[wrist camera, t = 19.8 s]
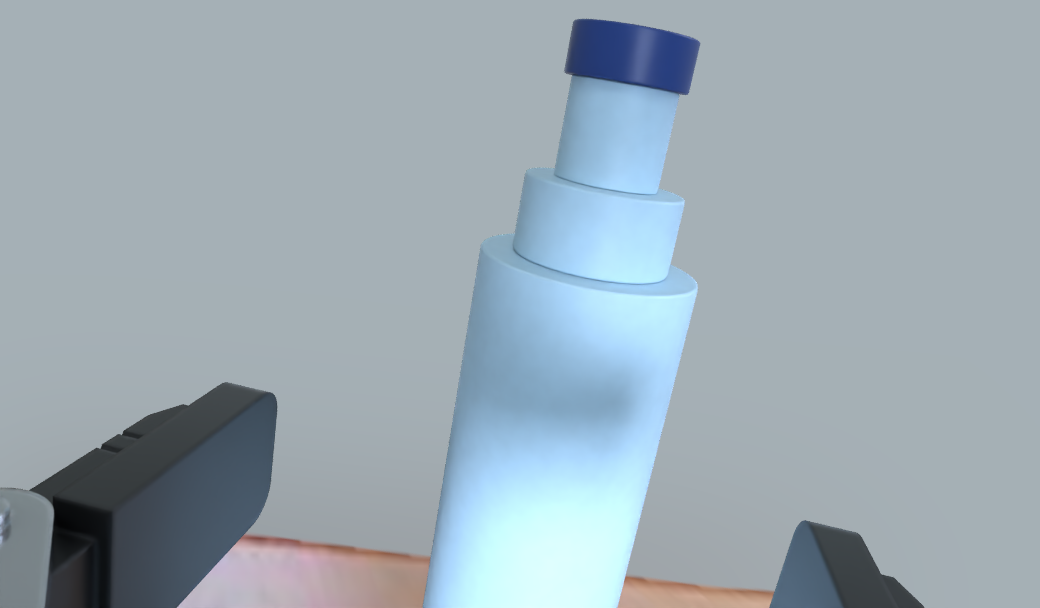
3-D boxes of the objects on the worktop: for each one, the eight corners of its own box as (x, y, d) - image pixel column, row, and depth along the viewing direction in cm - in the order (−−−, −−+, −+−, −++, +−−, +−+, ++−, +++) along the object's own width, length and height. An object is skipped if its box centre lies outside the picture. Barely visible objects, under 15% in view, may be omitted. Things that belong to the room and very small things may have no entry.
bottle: (593, 650, 25) (739, 58, 19) (582, 798, 20) (780, 42, 14) (436, 611, 26) (534, 23, 20) (385, 745, 20) (500, -6, 15)
